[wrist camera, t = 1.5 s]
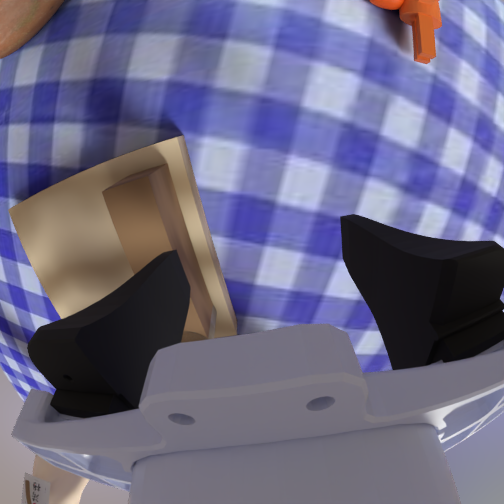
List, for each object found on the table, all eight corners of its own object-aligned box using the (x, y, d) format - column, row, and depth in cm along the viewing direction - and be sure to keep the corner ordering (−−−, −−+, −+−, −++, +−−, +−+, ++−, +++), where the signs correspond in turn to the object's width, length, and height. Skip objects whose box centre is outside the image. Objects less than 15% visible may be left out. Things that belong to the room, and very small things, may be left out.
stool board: (237, 320, 26) (236, 369, 20) (88, 337, 27) (69, 375, 22) (183, 135, 18) (159, 142, 13) (20, 202, 19) (-19, 227, 14)
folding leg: (221, 323, 23) (218, 358, 19) (186, 328, 23) (178, 362, 20) (168, 162, 17) (149, 175, 13) (126, 176, 17) (100, 192, 13)
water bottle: (50, 371, 31) (-4, 515, 6) (85, 370, 30) (30, 544, 5) (88, 409, 36) (53, 540, 11) (125, 410, 35) (95, 563, 10)
